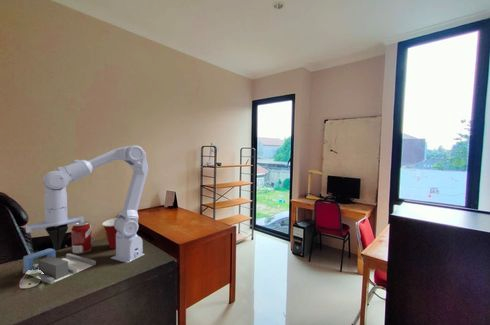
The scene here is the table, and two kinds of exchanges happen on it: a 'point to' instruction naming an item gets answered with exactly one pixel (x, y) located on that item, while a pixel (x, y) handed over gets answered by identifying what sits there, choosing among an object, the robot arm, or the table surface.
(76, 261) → the sliding block fixture
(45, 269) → the grey rectangular block
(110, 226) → the plastic cup
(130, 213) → the robot arm
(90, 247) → the soda can
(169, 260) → the table surface
